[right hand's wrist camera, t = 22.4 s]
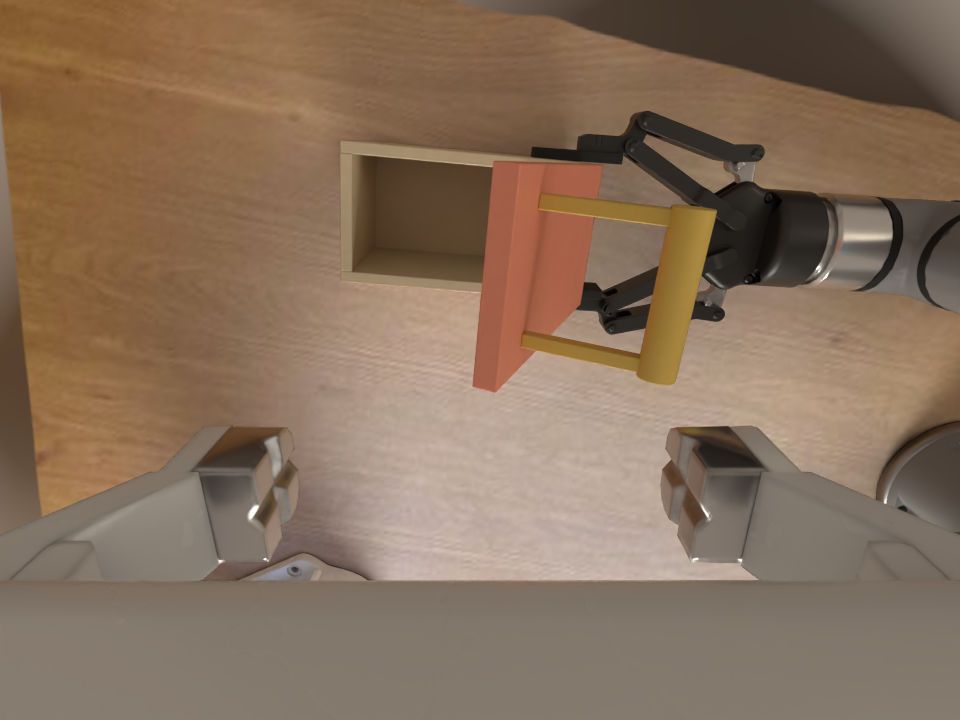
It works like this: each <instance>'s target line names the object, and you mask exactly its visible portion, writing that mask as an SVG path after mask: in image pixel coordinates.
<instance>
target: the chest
mask: <svg viewBox="0 0 960 720" xmlns="http://www.w3.org/2000/svg"><path fill="white" fill-rule="evenodd" d="M340 152H341V153H340V238H341V281H342V282H352V283H364V284H376V285H389V286H401V287H413V288H425V289H437V290H449V291H462V292H474V293H481V291H482V280H483V269H484V258H485V247H486V236H487V226H488V215H489V204H490V193H491V182H492V171H493V162H494V161H526V162H558V163H584V162H578V161H567V160H554V159H543V158H534V157H531V156H523V155H513V154H502V153H492V152H481V151H471V150H460V149H450V148H439V147H429V146H418V145H408V144H397V143H387V142H376V141H359V140H340ZM588 164H590V163H588Z"/></svg>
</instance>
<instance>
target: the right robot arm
mask: <svg viewBox="0 0 960 720" xmlns="http://www.w3.org/2000/svg"><path fill="white" fill-rule="evenodd" d="M294 449H295V448H294V442H293V437H292V433H291V431H290V430H289V429H288V427H241V426H236V427H233V426H209V427H203V428H202V429H201V430H200V431H199V432H198V433H197V434H196V435H195V436H194V437H193V438H192V439H191V440H190V441H189V442H188V443H187V444H186V445H185V446H184V447H183V448H182V449H181V450H180V451H179V452H178V453H177V454H176V455H175V456H174V457H173V458H172V459H171V460H170V461H169V462H168V463H167V464H166V465H165V466H164V467H163V468H162V469H161V470H160V471H159V472H148V473H146V474H143V475H141V476H139V477H136V478H134V479H132V480H129V481H127V482H124V483H122V484H120V485H117V486H115V487H113V488H110V489H108V490H105V491H103V492H101V493H98V494H96V495H94V496H91V497H89V498H86V499H84V500H82V501H79V502H77V503H75V504H72V505H70V506H67V507H65V508H63V509H60V510H58V511H56V512H53V513H51V514H48V515H46V516H44V517H41V518H39V519H37V520H34V521H32V522H29V523H27V524H25V525H22V526H20V527H17V528H15V529H13V530H10V531H8V532H6V533H3V534H1V535H0V720H960V535H959V534H956V533H954V532H952V531H949V530H947V529H945V528H942V527H940V526H937V525H935V524H933V523H930V522H928V521H926V520H923V519H921V518H918V517H916V516H914V515H911V514H909V513H907V512H904V511H902V510H900V509H897V508H895V507H892V506H890V505H888V504H885V503H883V502H881V501H878V500H876V499H873V498H871V497H869V496H866V495H864V494H862V493H859V492H857V491H854V490H852V489H850V488H847V487H845V486H843V485H840V484H838V483H836V482H833V481H831V480H828V479H826V478H824V477H821V476H819V475H817V474H814V473H812V472H801V471H800V470H799V469H798V468H797V467H796V466H795V465H794V464H793V463H792V462H791V461H790V460H789V459H788V458H787V457H786V456H785V455H784V454H783V453H782V452H781V451H780V450H779V449H778V448H777V447H776V446H775V445H774V444H773V443H772V442H771V440H770V439H769V438H768V437H767V436H766V435H765V434H764V433H763V432H762V431H761V430H760V429H759V428H757V427H754V426H733V427H729V426H718V427H676V428H671V429H670V431H669V434H668V436H667V442H666V448H665V449H666V451H667V452H668V454H669V456H670V457H671V459H672V460H671V461H670V462H669V463H668V464H667V465H666V466H665V467H664V468H663V469H662V477H661V497H662V502H663V506H664V510H665V512H666V514H667V516H668V518H669V519H670V520H671V521H673V522H674V523H676V524H677V525H679V528H678V535H677V536H678V538H679V540H680V542H681V544H682V546H683V548H684V549H685V551H686V553H687V555H688V557H689V559H690V561H691V562H711V563H741V566H742V567H743V568H745V569H746V570H747V571H748V572H750V573H751V574H752V575H754V576H755V577H756V578H757V579H759V580H624V581H368V580H367V579H365V578H363V577H362V576H360V575H358V574H356V573H353V572H351V571H348V570H344V569H340V568H336V567H333V566H330V565H327V564H325V563H324V562H322V561H321V560H319V559H318V558H316V557H314V556H312V555H310V554H306V553H301V554H298V555H296V556H293V557H291V558H289V559H286V560H284V561H282V562H279V563H277V564H275V565H272V566H270V567H268V568H265V569H263V570H261V571H258V572H256V573H254V574H252V575H249V576H247V577H245V578H242V579H240V580H238V581H200V580H202V579H203V578H204V577H205V576H207V575H208V574H209V573H211V572H212V571H213V570H214V569H216V568H217V567H218V566H219V563H248V562H269V561H270V559H271V557H272V555H273V553H274V552H275V550H276V548H277V546H278V544H279V542H280V540H281V538H282V536H283V535H282V528H281V525H283V524H284V523H286V522H287V521H289V520H290V519H291V518H292V516H293V514H294V512H295V510H296V506H297V501H298V496H299V476H298V469H297V468H296V467H295V466H294V465H293V464H292V463H291V462H290V461H289V460H288V459H289V457H290V456H291V454H292V452H293V451H294ZM295 567H297V568H295Z"/></svg>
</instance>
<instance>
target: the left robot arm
mask: <svg viewBox="0 0 960 720" xmlns="http://www.w3.org/2000/svg"><path fill="white" fill-rule="evenodd" d="M646 134H647V135H650V136H652V137H655V138H658V139H660V140H663V141H665V142H668V143H670V144H673V145H676V146H678V147H681V148H683V149H686V150H688V151H691V152H694V153H696V154H699V155H701V156H704V157H706V158H709V159H712V160H717V161H724V169H725V171H727V172H730V173H732V174H733V175H734V176H735V182H733V183H731V184H729V185H728V186H726V187H724V188H723V189H721V190H719V191H718V192H716V193H712V192H711V191H710V190H708V189H706V188H704V187H703V186H701V185H700V184H698V183H697V182H696V181H694V180H693V179H692V178H690V177H689V176H688V175H686V174H685V173H684V172H682V171H681V170H680V169H678V168H677V167H676V166H674V165H673V164H672V163H670V162H669V161H668V160H666V159H665V158H663V157H662V156H661V155H659V154H658V153H657V152H655V151H654V150H653V149H651V148H650V147H649V146H647V145H646V144H645V143H643V140H644V138H645V136H646ZM764 153H765V150H764V148H763V146H761V145H758V144H736V145H734V144H731V143H729V142H726V141H724V140H721V139H719V138H716V137H714V136H711V135H709V134H706V133H704V132H701V131H698V130H696V129H693V128H691V127H688V126H686V125H683V124H681V123H678V122H676V121H673V120H671V119H668V118H666V117H663V116H660V115H658V114H655V113H653V112H650V111H644V112H639V113H635V114H634V115H632V117H631V118H630V123H629V125H628V127H627V129H626V131H625V132H624V133H623V134H622V135H621V136H608V135H594V134H585V135H582V136H579V137H578V142H577V150H567V149H553V148H540V147H532V152H531V157H534V158H543V159H554V160H567V161H581V162H595V163H609V164H622V159H623V155H624V156H625V157H626V158H628V159H629V160H630V161H632V162H633V163H635V164H636V165H637V166H639V167H640V168H641V169H643V170H644V171H645V172H647V173H648V174H650V175H651V176H652V177H654V178H655V179H656V180H658V181H659V182H660V183H662V184H663V185H665V186H666V187H667V188H669V189H670V190H671V191H673V192H674V193H675V194H677V195H678V196H680V197H681V199H682V200H684V201H685V202H686V203H688V204H689V205H691V206H698V207H705V208H711V209H715V210H717V213H716V218H715V222H714V226H713V230H712V234H711V238H710V242H709V246H708V250H707V255H706V259H705V263H704V267H703V271H702V275H701V276H703V277H704V278H705V279H706V280H707V281H708V282H709V283H710V284H711V286H710V288H709V289H708V290H706V291H701V292H698V293H697V296H696V300H695V304H694V308H693V312H692V316H691V320H692V319H701V320H708V321H715V322H718V321H720V320H722V319H723V318H724V316H725V312H724V310H723V309H722V308H721V305H722V302H723V299H724V296H725V293H726V290H727V289H730V288H732V287H735V286H738V285H759V286H775V287H795V286H797V287H800V288H807V289H824V290H842V291H864V292H875V293H886V294H896V295H902V296H907V297H911V298H914V299H917V300H919V301H922V302H925V303H928V304H931V305H933V306H936V307H939V308H943V309H945V310H948V311H953V312H955V313H958V314H960V201H958V200H954V201H935V200H917V199H894V198H881V197H874V196H863V195H849V194H835V193H818V194H815V193H812V192H805V191H791V190H777V189H763V188H761V187H759V186H758V185H757V184H755V183H754V182H753V179H754V172H755V166H756V162H757V161H759V160H761V159H762V158H763V156H764ZM658 268H659V266H658V267H656V268H653V269H651V270H649V271H647V272H644V273H642V274H640V275H638V276H635V277H633V278H631V279H629V280H626V281H624V282H622V283H620V284H617V285H615V286H613V287H611V288H608V289H606V290H604V291H602V290H601V289H600V288H599V286H598V285H597V284H596V283H589V282H584V285H583V291H582V297H581V304H580V305H579V306H578V307H577V308H576V309H575V310H584V311H596V312H598V314H599V322H600V324H601V325H602V327H603V328H604V330H605V331H606V332H607V333H608V334H618V333H623V332H629V331H634V330H639V329H644V328H646V324H647V320H648V315H649V310H650V306H651V304H647V305H642V306H637V307H631V308H626V309H621V308H623V307H625V306H627V305H630V304H632V303H634V302H637V301H639V300H641V299H644V298H646V297H648V296H650V295H653V291H654V287H655V282H656V277H657V273H658ZM618 309H621V310H618ZM876 500H878V501H881V502H883V503H885V504H888V505H890V506H892V507H895V508H897V509H900V510H902V511H904V512H907V513H909V514H911V515H914V516H916V517H918V518H921V519H923V520H926V521H928V522H930V523H933V524H935V525H937V526H940V527H942V528H945V529H947V530H949V531H952V532H954V533H956V534H959V535H960V422H955V423H950V424H946V425H943V426H940V427H937V428H934V429H932V430H930V431H928V432H926V433H924V434H922V435H920V436H919V437H917V438H915V439H914V440H912V441H911V442H910V443H908V444H907V445H906V446H905V447H903V448H902V449H901V450H900V451H899V452H898V453H897V454H896V455H895V456H894V457H893V458H892V460H891V461H890V462H889V464H888V465H887V467H886V468H885V470H884V472H883V474H882V475H881V478H880V480H879V483H878V487H877V492H876Z"/></svg>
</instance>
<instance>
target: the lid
mask: <svg viewBox="0 0 960 720" xmlns="http://www.w3.org/2000/svg"><path fill="white" fill-rule="evenodd" d="M602 169H603V165H598V164H588V163H558V162H526V161H494V162H493V171H492V182H491V193H490V204H489V215H488V226H487V236H486V247H485V258H484V269H483V280H482V291H481V302H480V312H479V323H478V334H477V345H476V356H475V367H474V377H473V387H475V388H479V389H483V390H487V391H491V392H497V391H498V390H499V389H500V387H501V386H502V385H503V384H504V383H505V382H506V381H507V380H508V379H509V378H510V377H511V376H512V375H513V374H514V373H515V372H516V371H517V370H518V369H519V368H520V367H521V366H522V365H523V363H524V362H525V361H526V360H527V359H528V358H529V357H530V356H531V355H532V354H533V353H534V352H535V351H541V352H545V353H550V354H554V355H559V356H563V357H568V358H572V359H577V360H582V361H586V362H591V363H595V364H600V365H604V366H609V367H614V368H618V369H623V370H627V371H632V372H636V375H637V376H638V377H639V378H640V379H642V380H644V381H646V382H649V383H652V384H657V385H671V384H674V383H675V381H676V378H677V374H678V369H679V365H680V361H681V357H682V353H683V349H684V345H685V341H686V337H687V333H688V328H689V324H690V320H691V316H692V312H693V308H694V304H695V300H696V296H697V291H698V287H699V283H700V279H701V275H702V271H703V267H704V263H705V259H706V255H707V250H708V246H709V242H710V238H711V234H712V230H713V226H714V222H715V218H716V213H717V210H715V209H711V208H705V207H698V206H689V205H672V207H671V208H667V207H658V206H650V205H642V204H634V203H625V202H617V201H609V200H601V199H598V193H599V187H600V181H601V175H602ZM595 217H598V218H606V219H613V220H621V221H628V222H636V223H643V224H651V225H659V226H666V227H667V230H666V235H665V240H664V244H663V249H662V254H661V259H660V263H659V268H658V273H657V277H656V282H655V287H654V291H653V296H652V301H651V306H650V310H649V315H648V320H647V324H646V329H645V334H644V338H643V343H642V348H641V353H640V354H637V353H632V352H628V351H623V350H618V349H613V348H608V347H604V346H599V345H594V344H589V343H584V342H580V341H575V340H570V339H565V338H560V337H556V336H551V334H552V333H553V332H554V331H555V330H556V329H557V328H558V327H559V326H560V325H561V324H562V323H563V322H564V321H565V320H566V319H567V318H568V317H569V315H570V314H571V313H572V312H573V311H574V310H575V309H576V308H577V307H578V306H579V305H580V304H581V297H582V291H583V285H584V279H585V273H586V267H587V261H588V255H589V248H590V242H591V236H592V230H593V224H594V218H595Z"/></svg>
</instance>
